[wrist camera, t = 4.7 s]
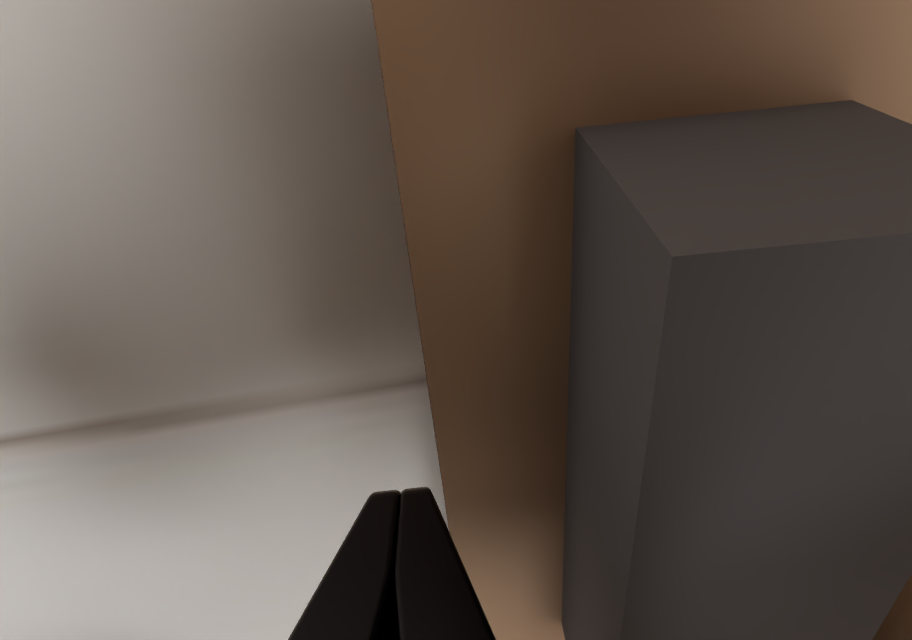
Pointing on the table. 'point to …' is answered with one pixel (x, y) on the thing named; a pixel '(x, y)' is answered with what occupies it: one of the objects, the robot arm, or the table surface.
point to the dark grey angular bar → (740, 376)
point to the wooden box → (565, 217)
